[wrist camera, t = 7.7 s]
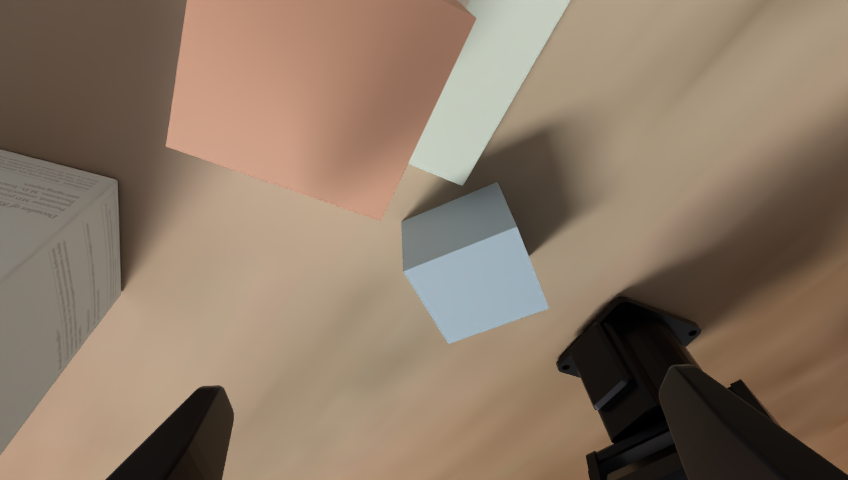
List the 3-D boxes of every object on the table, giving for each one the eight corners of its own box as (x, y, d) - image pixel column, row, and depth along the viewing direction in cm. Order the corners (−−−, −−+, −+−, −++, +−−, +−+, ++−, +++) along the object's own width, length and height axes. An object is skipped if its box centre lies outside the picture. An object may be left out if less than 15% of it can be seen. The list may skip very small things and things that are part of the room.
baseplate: (594, -59, 15) (603, -58, 15) (460, 178, 20) (462, 186, 20) (245, -291, 12) (236, -305, 11) (185, 63, 17) (176, 69, 16)
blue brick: (526, 256, 23) (548, 308, 20) (440, 288, 24) (448, 344, 21) (496, 180, 21) (516, 226, 17) (401, 220, 22) (403, 271, 18)
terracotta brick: (383, 155, 14) (381, 221, 11) (223, 92, 13) (165, 146, 9) (452, -5, 12) (476, 18, 8) (264, -105, 10) (205, -125, 7)
